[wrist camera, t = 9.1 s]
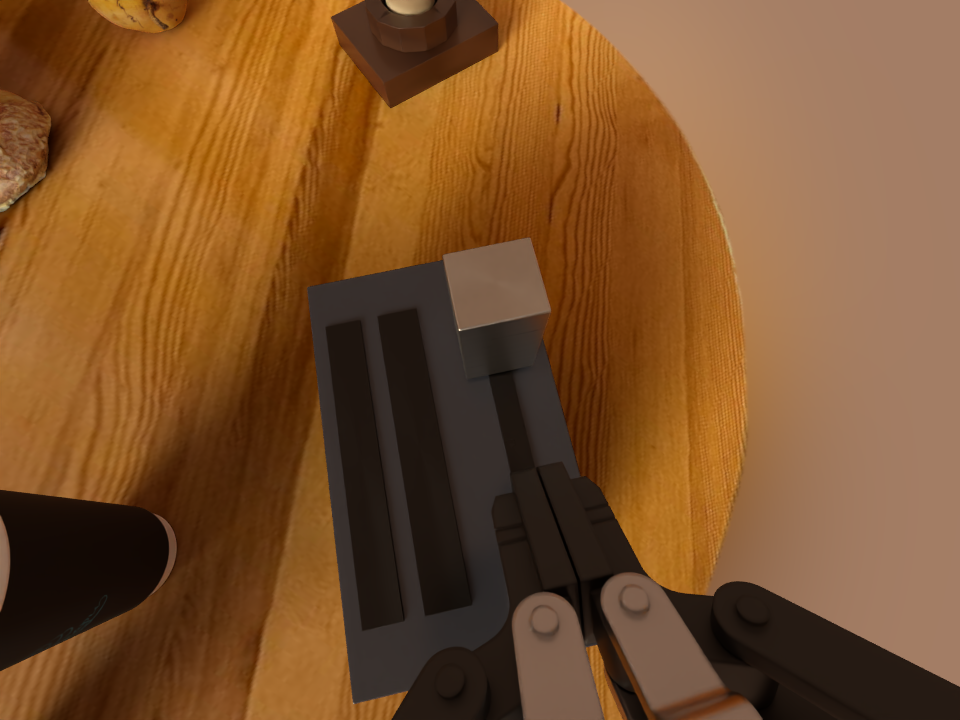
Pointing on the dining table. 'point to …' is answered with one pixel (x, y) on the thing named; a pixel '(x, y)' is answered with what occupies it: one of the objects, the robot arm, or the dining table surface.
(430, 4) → the power button
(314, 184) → the dining table surface
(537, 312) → the toaster slider
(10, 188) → the bread roll
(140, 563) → the dixie cup
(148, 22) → the fruit
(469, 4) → the block
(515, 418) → the toaster
